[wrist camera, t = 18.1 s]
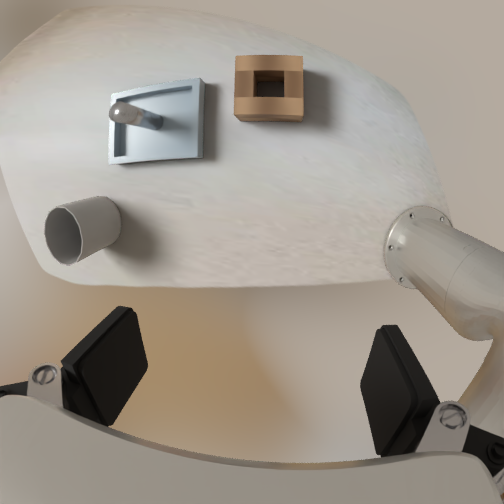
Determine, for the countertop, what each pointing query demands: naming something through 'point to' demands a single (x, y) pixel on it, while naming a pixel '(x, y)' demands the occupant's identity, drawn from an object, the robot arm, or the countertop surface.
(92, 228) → the cup
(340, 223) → the countertop surface
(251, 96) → the bore block
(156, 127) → the pin
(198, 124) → the tray
